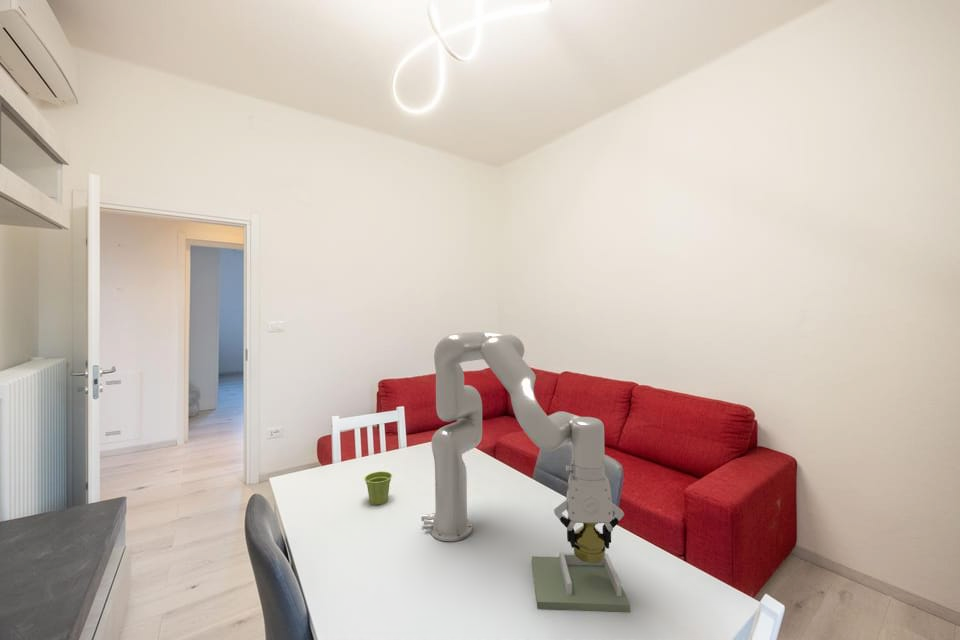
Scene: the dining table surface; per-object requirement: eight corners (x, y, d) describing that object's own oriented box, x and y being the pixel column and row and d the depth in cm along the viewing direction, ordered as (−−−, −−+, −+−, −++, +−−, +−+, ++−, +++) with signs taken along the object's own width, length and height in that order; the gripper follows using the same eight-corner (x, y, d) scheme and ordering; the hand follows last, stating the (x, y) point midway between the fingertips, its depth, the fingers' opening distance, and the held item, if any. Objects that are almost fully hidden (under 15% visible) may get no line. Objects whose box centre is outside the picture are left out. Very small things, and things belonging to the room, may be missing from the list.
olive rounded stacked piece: (601, 568, 86) (600, 524, 86) (569, 557, 90) (568, 515, 90) (609, 551, 92) (608, 510, 92) (578, 541, 96) (578, 502, 96)
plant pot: (358, 505, 131) (358, 479, 131) (376, 493, 140) (375, 469, 140) (381, 510, 128) (381, 484, 127) (397, 497, 136) (397, 473, 136)
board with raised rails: (537, 608, 84) (537, 590, 84) (531, 562, 100) (531, 546, 100) (630, 611, 83) (629, 593, 83) (609, 564, 99) (609, 548, 99)
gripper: (553, 476, 88) (554, 553, 88) (630, 477, 87) (631, 555, 87) (549, 464, 95) (550, 535, 95) (620, 465, 94) (621, 536, 94)
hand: (589, 544), depth 91 cm, fingers closed on olive rounded stacked piece, 7 cm apart
